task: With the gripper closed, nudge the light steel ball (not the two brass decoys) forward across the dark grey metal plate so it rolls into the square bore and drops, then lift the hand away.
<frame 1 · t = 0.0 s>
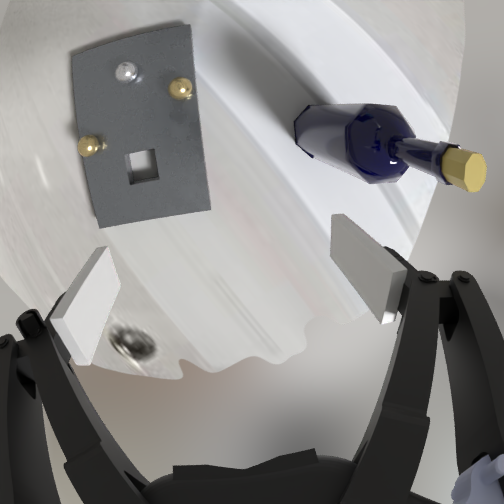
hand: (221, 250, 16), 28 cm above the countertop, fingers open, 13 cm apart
steel ball: (126, 72, 29), point 4 cm above the countertop, touching plate
plate: (139, 125, 36), on the countertop
bottle: (320, 131, 40), on the countertop
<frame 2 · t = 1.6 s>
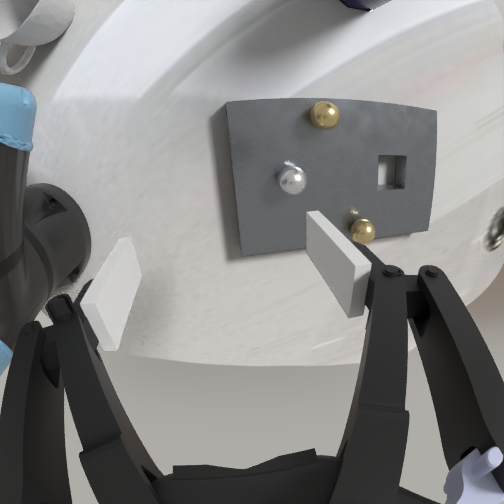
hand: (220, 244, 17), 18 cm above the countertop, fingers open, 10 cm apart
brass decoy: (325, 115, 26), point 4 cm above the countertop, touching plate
steel ball: (292, 180, 29), point 4 cm above the countertop, touching plate
plate: (343, 169, 34), on the countertop
mug: (48, 33, 20), on the countertop
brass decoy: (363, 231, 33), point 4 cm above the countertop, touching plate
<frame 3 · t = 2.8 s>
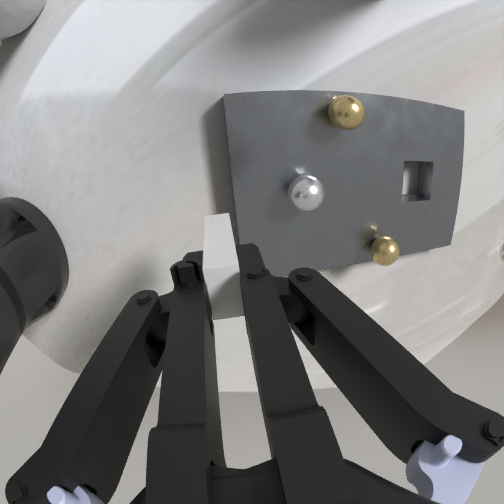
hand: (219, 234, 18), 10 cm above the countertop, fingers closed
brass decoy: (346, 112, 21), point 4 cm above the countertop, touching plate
steel ball: (306, 193, 24), point 4 cm above the countertop, touching plate
plate: (363, 177, 28), on the countertop
mug: (18, 24, 13), on the countertop
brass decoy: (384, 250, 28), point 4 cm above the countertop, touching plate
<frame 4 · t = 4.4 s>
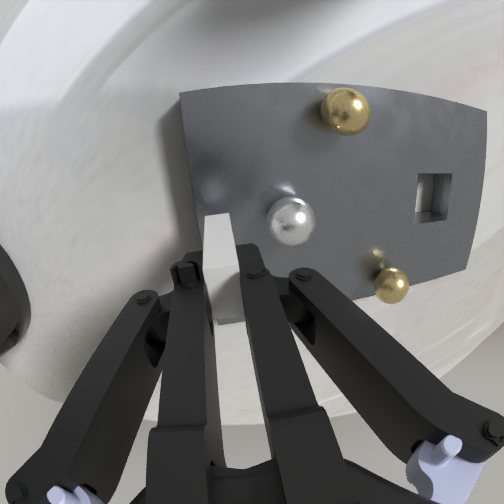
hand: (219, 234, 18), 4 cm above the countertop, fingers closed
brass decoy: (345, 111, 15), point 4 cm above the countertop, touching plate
steel ball: (291, 221, 18), point 4 cm above the countertop, touching plate
plate: (366, 193, 23), on the countertop
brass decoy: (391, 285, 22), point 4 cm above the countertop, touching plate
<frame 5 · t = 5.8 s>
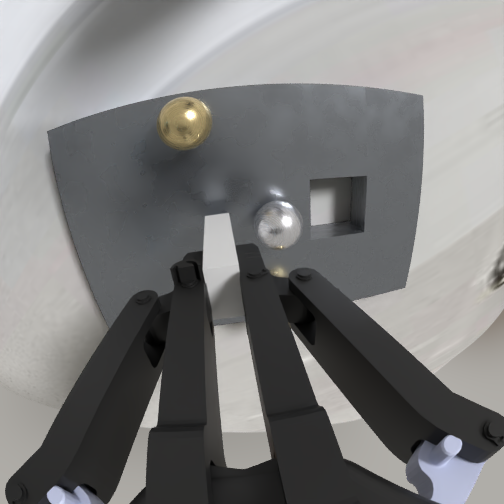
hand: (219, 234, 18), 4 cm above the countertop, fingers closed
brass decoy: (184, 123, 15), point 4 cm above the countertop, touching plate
steel ball: (278, 225, 18), point 4 cm above the countertop, tilted 42°, touching plate
plate: (253, 206, 22), on the countertop
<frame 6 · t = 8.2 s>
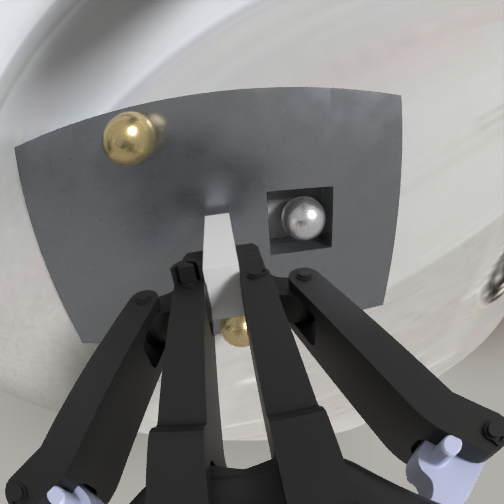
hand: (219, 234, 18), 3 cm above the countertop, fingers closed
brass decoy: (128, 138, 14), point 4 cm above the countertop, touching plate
steel ball: (303, 218, 20), point 2 cm above the countertop, tilted 168°
plate: (213, 219, 21), on the countertop
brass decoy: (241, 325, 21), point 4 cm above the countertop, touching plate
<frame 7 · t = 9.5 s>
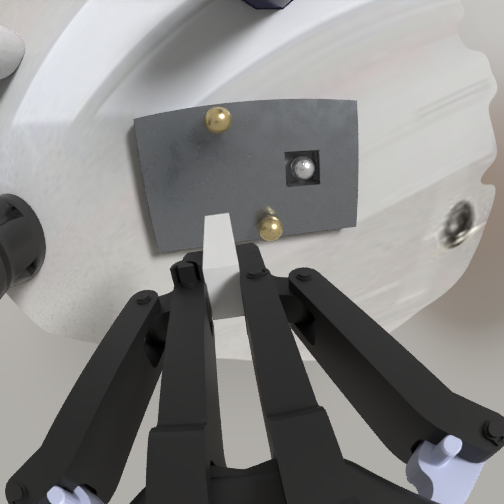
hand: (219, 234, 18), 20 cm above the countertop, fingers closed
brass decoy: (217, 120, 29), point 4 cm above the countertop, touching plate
steel ball: (302, 168, 35), point 2 cm above the countertop, tilted 174°
plate: (253, 169, 36), on the countertop
mug: (7, 68, 22), on the countertop
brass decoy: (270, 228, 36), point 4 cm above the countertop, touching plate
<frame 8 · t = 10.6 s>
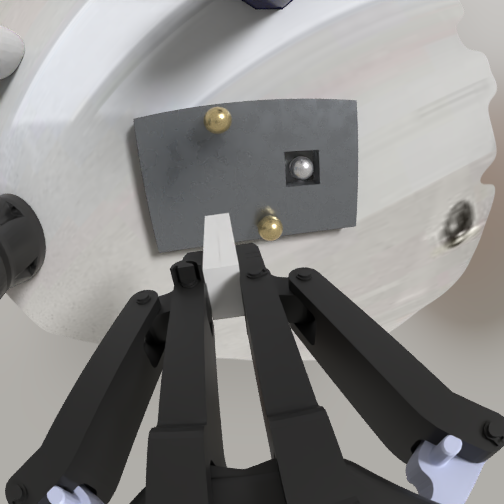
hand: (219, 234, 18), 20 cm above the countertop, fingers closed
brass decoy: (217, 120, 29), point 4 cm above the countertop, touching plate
steel ball: (301, 168, 35), point 2 cm above the countertop, tilted 179°
plate: (253, 168, 36), on the countertop
mug: (7, 68, 22), on the countertop
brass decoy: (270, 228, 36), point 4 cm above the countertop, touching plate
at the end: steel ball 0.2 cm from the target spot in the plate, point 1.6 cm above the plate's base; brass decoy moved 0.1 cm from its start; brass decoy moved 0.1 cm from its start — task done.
